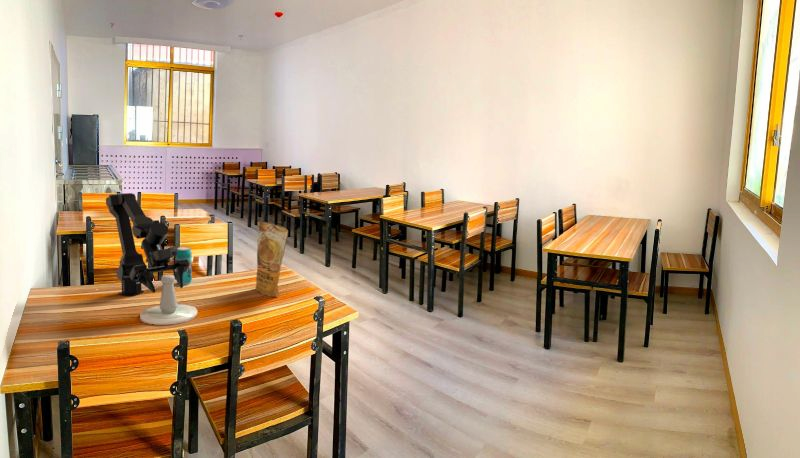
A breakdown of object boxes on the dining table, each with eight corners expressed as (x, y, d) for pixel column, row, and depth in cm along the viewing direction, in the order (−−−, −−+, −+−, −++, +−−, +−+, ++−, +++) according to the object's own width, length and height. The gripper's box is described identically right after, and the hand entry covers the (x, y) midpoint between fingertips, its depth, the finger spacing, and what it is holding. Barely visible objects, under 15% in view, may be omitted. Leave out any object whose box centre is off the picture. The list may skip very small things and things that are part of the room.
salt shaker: (179, 309, 184) (179, 273, 182) (175, 314, 179) (174, 277, 177) (162, 309, 183) (161, 273, 181) (157, 314, 178) (156, 277, 176)
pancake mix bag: (264, 285, 222) (264, 220, 218) (288, 296, 209) (290, 227, 204) (249, 288, 218) (250, 221, 213) (273, 299, 204) (274, 228, 200)
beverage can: (186, 285, 216) (186, 250, 214) (174, 284, 217) (173, 248, 215) (194, 282, 222) (194, 247, 219) (182, 281, 223) (181, 246, 220)
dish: (127, 319, 175) (127, 316, 175) (166, 304, 192) (166, 301, 192) (172, 328, 170) (172, 324, 170) (208, 311, 187) (208, 308, 187)
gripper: (131, 242, 174) (146, 282, 168) (187, 236, 187) (202, 273, 182) (123, 260, 180) (137, 299, 175) (177, 253, 194) (192, 289, 188)
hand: (168, 289), depth 180 cm, fingers open, 9 cm apart
